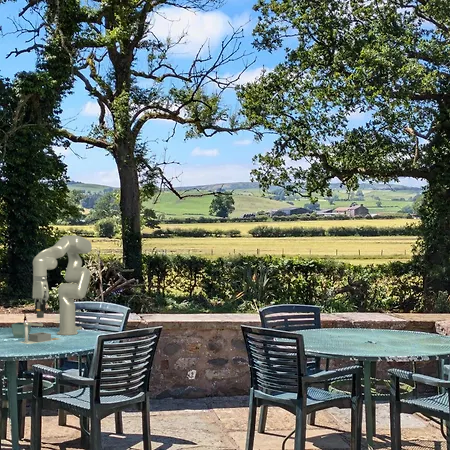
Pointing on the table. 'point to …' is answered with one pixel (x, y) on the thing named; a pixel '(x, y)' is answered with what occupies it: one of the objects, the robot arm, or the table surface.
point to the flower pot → (19, 330)
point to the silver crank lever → (33, 324)
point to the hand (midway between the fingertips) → (40, 310)
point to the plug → (39, 313)
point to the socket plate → (36, 337)
